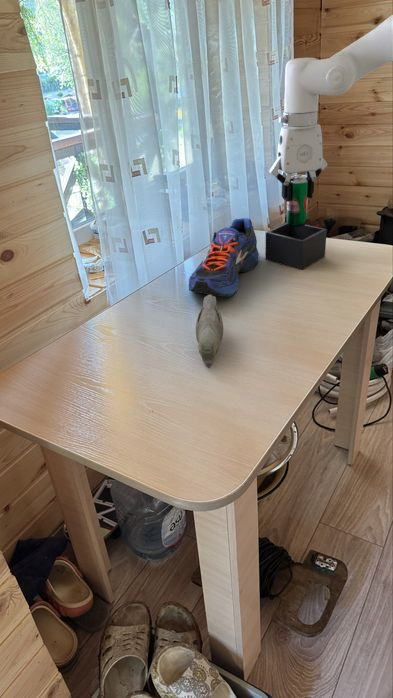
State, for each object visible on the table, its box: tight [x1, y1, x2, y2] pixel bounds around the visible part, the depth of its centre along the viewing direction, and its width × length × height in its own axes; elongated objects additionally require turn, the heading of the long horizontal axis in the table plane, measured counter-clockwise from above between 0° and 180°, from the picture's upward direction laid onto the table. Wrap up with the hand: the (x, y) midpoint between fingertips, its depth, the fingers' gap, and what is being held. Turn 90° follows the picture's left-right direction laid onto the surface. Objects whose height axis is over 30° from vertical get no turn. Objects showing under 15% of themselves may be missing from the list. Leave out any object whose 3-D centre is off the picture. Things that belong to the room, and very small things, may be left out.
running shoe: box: [188, 217, 260, 298], centre depth 125 cm, size 12×32×13 cm, turn 159°
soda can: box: [286, 173, 309, 227], centre depth 128 cm, size 5×5×12 cm
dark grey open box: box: [265, 222, 328, 271], centre depth 134 cm, size 12×11×8 cm
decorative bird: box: [195, 294, 224, 369], centre depth 100 cm, size 5×16×7 cm, turn 177°
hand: (297, 197), depth 128 cm, fingers closed on soda can, 5 cm apart
